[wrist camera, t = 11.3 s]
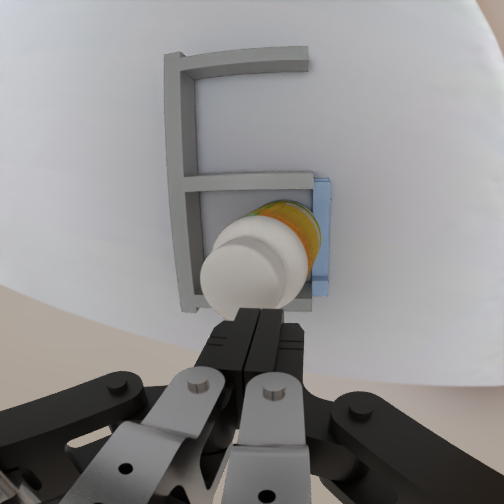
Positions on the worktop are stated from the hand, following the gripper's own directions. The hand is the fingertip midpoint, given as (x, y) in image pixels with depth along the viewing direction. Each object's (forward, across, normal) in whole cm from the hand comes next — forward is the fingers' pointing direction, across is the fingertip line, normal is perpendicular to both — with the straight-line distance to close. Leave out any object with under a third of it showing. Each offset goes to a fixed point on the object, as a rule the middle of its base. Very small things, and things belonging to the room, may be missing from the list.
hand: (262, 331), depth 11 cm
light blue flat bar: (+14, -3, 0) cm, 14 cm away
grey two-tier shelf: (+14, +3, -4) cm, 15 cm away
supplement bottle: (+13, 0, 0) cm, 13 cm away
